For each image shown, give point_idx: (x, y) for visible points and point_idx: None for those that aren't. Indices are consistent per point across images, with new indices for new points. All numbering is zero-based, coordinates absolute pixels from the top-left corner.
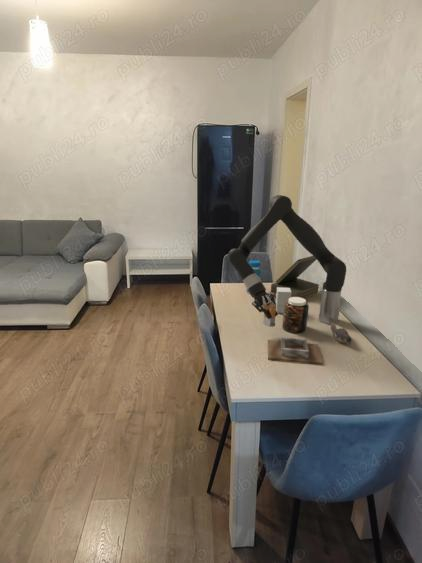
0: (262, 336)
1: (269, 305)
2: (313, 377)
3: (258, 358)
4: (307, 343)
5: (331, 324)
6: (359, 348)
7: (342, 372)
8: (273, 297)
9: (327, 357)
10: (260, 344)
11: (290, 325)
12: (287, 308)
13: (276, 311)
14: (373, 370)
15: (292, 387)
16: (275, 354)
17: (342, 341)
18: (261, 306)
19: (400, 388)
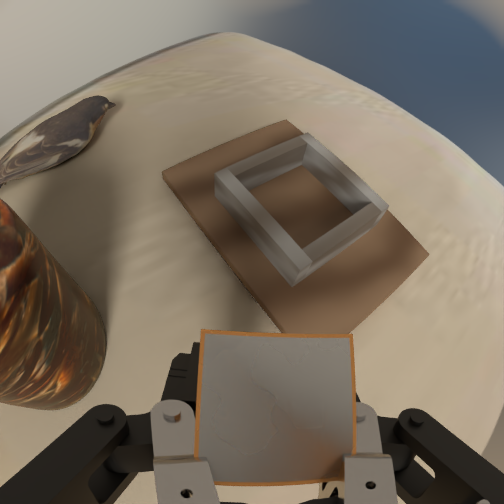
0: None
1: (328, 397)
2: (364, 127)
3: (447, 289)
4: (186, 199)
5: (3, 175)
6: None
7: (276, 91)
8: (15, 487)
9: (225, 130)
10: (364, 371)
11: (88, 323)
12: (14, 323)
13: (171, 370)
14: (205, 64)
15: (437, 150)
16: (392, 247)
17: (96, 127)
18: (438, 448)
19: (239, 40)
